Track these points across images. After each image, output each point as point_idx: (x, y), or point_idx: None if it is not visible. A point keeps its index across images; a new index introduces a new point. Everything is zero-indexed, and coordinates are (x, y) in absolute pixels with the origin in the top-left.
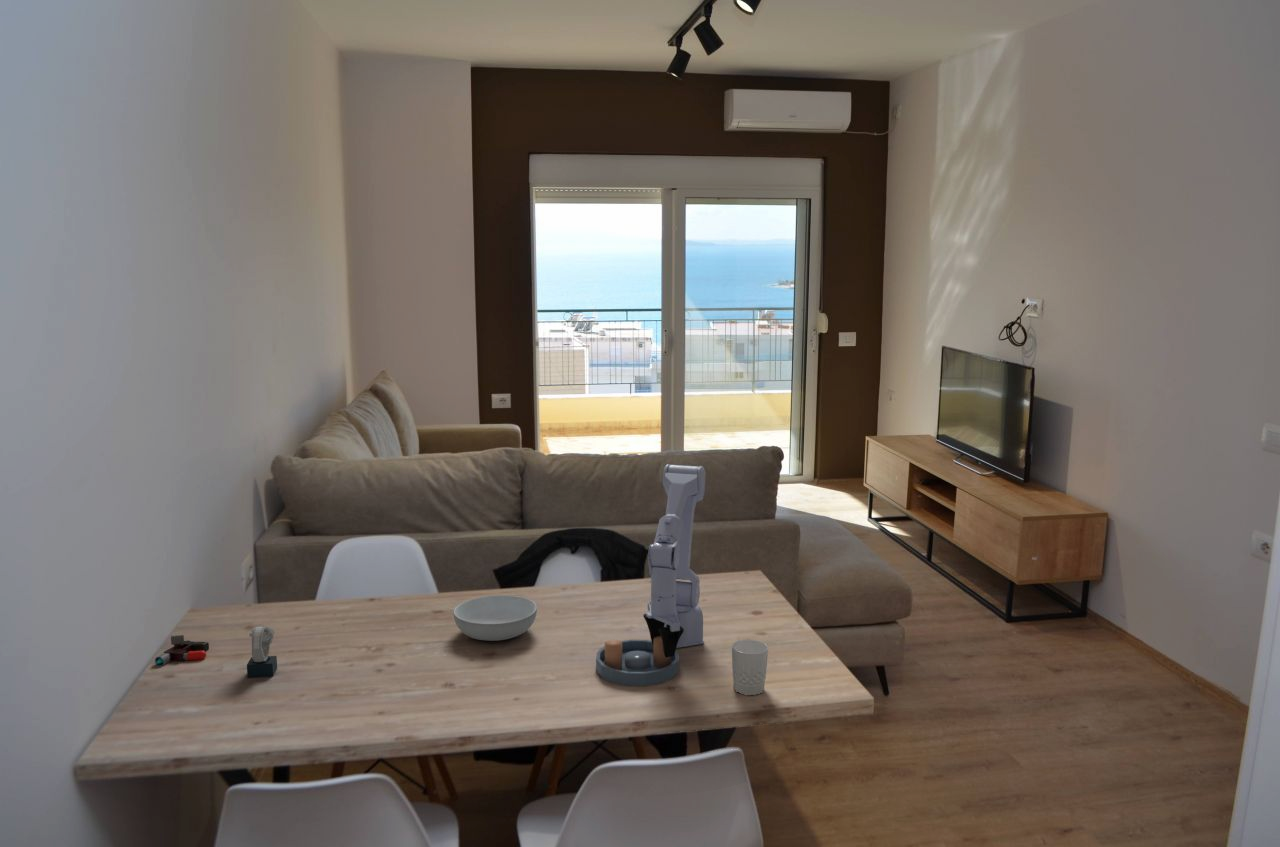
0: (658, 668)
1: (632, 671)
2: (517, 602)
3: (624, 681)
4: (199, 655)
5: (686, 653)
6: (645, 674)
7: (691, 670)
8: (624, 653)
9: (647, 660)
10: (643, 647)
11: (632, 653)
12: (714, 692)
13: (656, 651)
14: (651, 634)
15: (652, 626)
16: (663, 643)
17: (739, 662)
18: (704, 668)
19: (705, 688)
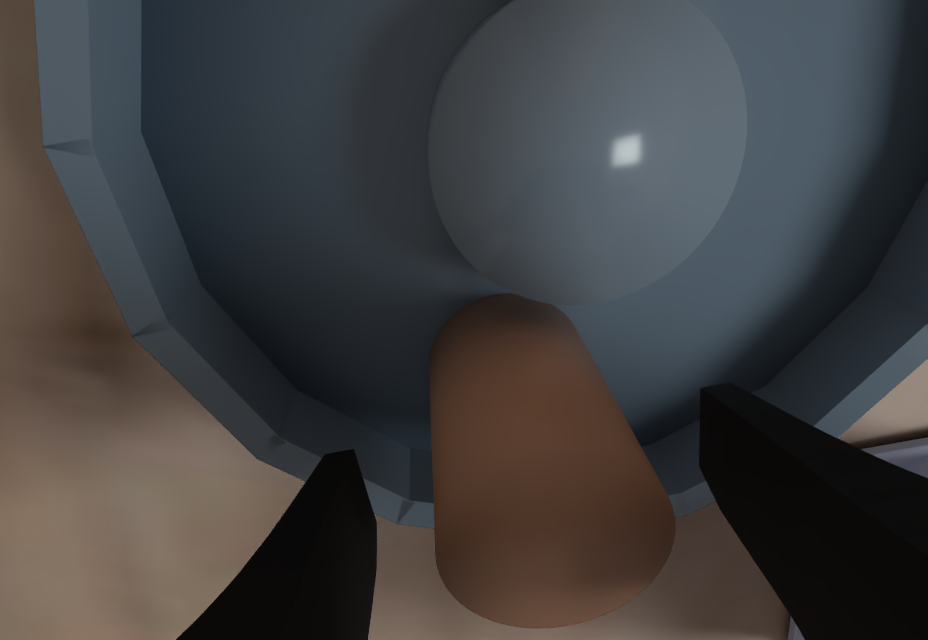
0: (416, 320)
1: (384, 41)
2: None
3: None
4: None
5: (700, 540)
6: (53, 148)
7: (415, 526)
8: (875, 51)
9: (463, 249)
10: (887, 275)
11: (679, 108)
12: (40, 592)
13: (475, 391)
14: (780, 451)
15: (865, 560)
16: (273, 572)
17: None
18: (432, 596)
19: (103, 556)
